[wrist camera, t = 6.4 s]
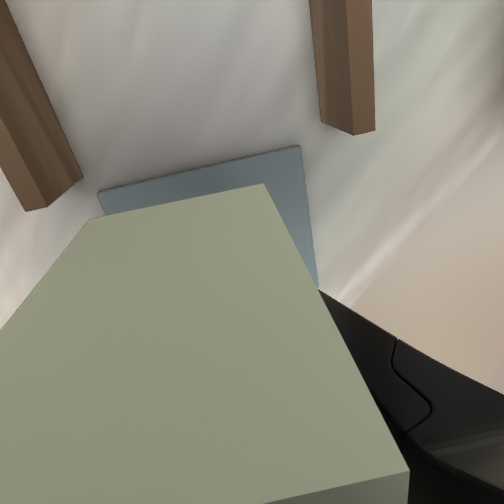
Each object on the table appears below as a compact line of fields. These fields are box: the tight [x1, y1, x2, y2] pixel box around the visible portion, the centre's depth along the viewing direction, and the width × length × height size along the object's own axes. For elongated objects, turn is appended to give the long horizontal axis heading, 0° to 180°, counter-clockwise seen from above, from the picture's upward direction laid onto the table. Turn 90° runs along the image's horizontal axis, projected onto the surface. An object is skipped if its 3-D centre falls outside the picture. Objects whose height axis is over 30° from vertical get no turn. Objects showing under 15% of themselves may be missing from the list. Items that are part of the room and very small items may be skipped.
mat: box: [97, 145, 319, 288], centre depth 22 cm, size 12×10×1 cm
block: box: [0, 183, 410, 504], centre depth 7 cm, size 5×5×8 cm
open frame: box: [0, 0, 375, 212], centre depth 15 cm, size 16×13×5 cm
